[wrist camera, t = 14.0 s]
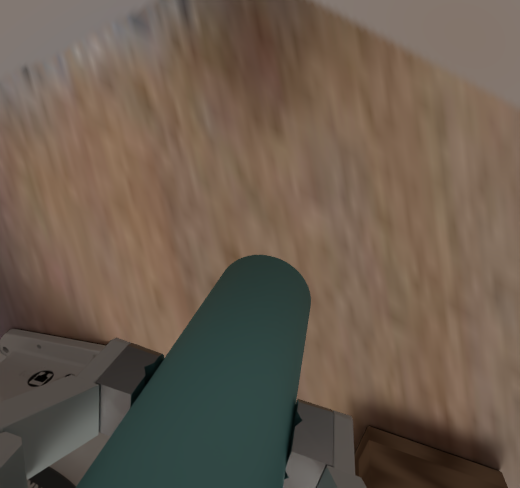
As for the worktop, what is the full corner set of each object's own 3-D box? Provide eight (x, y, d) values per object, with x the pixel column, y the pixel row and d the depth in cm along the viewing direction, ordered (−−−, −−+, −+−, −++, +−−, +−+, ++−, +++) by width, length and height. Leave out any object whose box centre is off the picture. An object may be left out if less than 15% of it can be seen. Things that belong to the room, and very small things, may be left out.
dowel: (212, 321, 16) (-80, 817, 5) (226, 243, 14) (-173, 735, 3) (297, 348, 15) (186, 965, 4) (322, 271, 13) (244, 961, 3)
